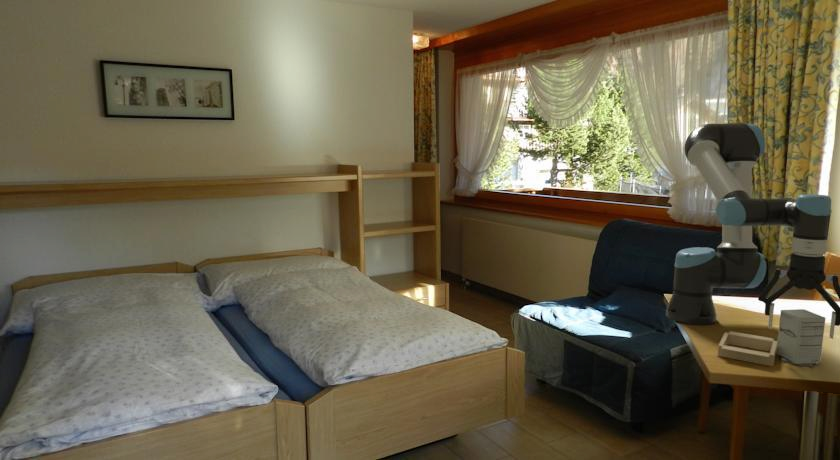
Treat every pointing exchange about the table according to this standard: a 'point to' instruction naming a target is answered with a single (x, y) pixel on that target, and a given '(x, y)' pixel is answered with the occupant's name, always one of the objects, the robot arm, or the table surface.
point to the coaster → (794, 363)
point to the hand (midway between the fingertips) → (799, 332)
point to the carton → (749, 342)
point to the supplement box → (800, 336)
